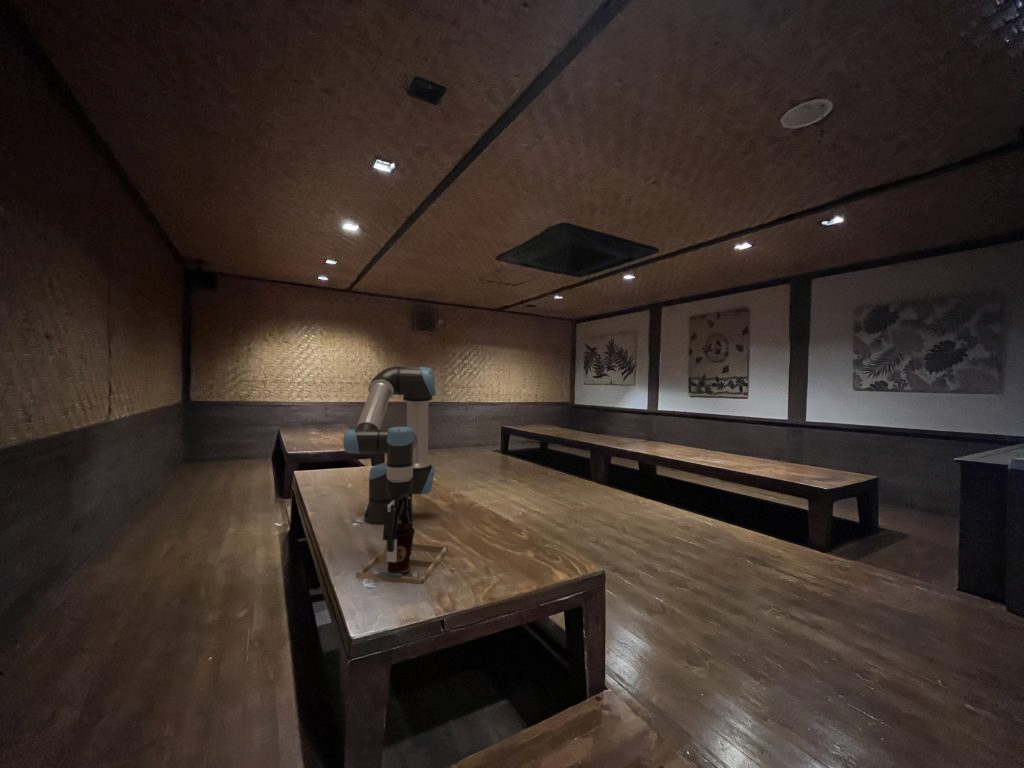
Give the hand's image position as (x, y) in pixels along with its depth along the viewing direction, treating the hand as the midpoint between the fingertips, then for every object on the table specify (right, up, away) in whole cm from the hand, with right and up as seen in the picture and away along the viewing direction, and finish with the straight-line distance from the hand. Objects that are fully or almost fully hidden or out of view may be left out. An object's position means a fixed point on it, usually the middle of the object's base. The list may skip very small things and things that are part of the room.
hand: (398, 554), depth 118 cm
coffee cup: (0, -4, 0) cm, 5 cm away
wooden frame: (+1, -6, +5) cm, 8 cm away
